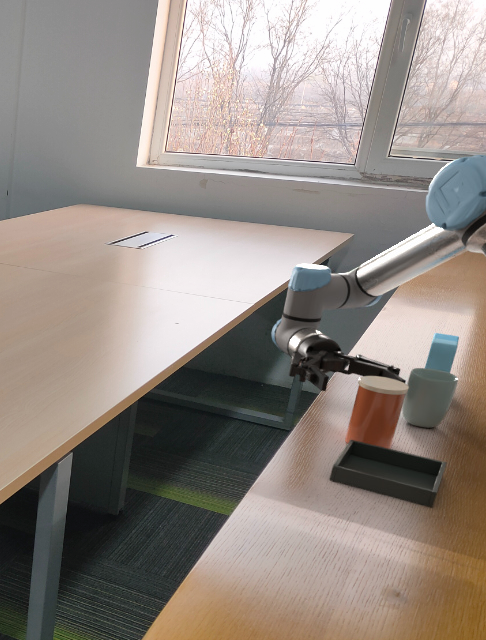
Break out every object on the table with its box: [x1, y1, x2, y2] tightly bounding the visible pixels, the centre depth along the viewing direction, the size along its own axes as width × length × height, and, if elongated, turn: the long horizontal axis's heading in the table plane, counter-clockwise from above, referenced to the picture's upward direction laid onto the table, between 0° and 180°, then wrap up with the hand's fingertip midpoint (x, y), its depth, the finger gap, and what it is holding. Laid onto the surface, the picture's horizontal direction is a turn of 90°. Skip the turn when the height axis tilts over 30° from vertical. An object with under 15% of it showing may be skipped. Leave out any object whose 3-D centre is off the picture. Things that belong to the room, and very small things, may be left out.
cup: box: [401, 367, 459, 429], centre depth 152 cm, size 8×8×10 cm
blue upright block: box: [424, 332, 460, 373], centre depth 169 cm, size 12×4×12 cm, turn 146°
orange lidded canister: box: [344, 376, 409, 449], centre depth 139 cm, size 8×8×12 cm
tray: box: [329, 440, 448, 508], centre depth 128 cm, size 14×14×3 cm
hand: (363, 385), depth 144 cm, fingers open, 13 cm apart
